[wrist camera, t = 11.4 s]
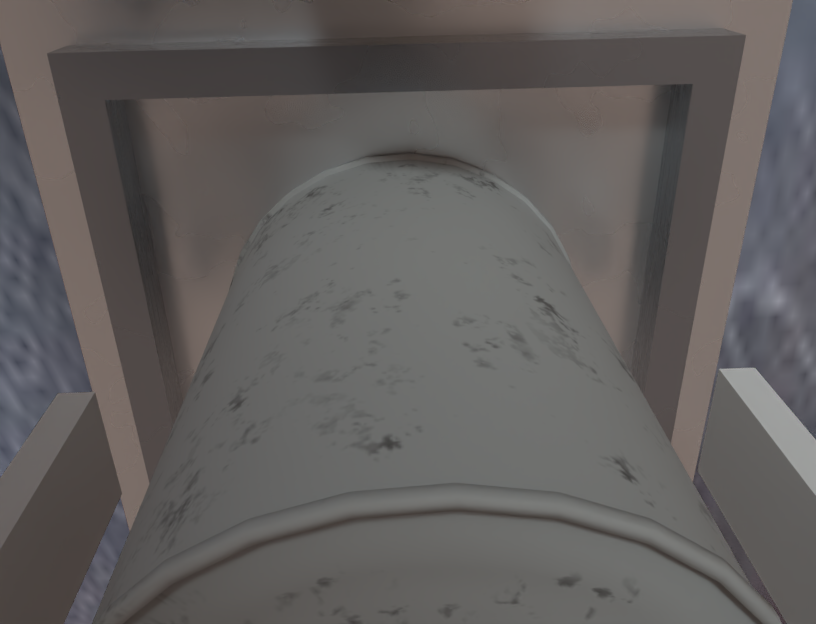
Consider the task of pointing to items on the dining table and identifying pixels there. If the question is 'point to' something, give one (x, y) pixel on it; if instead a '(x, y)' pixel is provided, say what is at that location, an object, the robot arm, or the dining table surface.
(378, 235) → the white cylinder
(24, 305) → the dining table surface
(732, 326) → the dining table surface
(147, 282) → the carrier plate
